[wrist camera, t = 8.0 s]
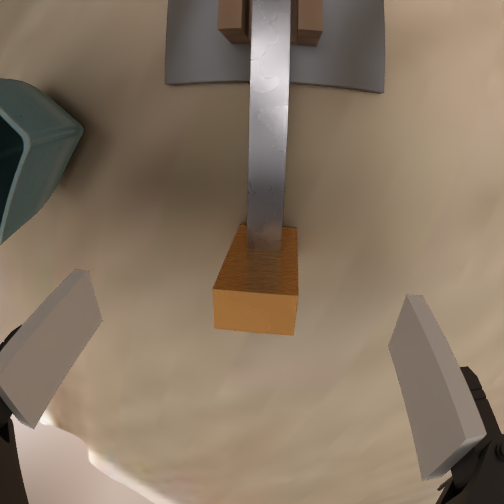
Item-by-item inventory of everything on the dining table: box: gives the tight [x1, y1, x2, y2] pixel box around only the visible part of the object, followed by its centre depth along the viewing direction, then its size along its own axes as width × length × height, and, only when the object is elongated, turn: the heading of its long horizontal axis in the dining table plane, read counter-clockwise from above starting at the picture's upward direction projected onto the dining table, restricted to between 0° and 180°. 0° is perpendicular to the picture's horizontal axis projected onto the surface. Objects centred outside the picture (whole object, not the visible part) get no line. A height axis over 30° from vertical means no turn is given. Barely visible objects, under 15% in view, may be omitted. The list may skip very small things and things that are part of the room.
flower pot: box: [0, 78, 84, 245], centre depth 17 cm, size 9×9×9 cm
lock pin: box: [213, 0, 298, 335], centre depth 15 cm, size 4×20×9 cm, turn 179°
